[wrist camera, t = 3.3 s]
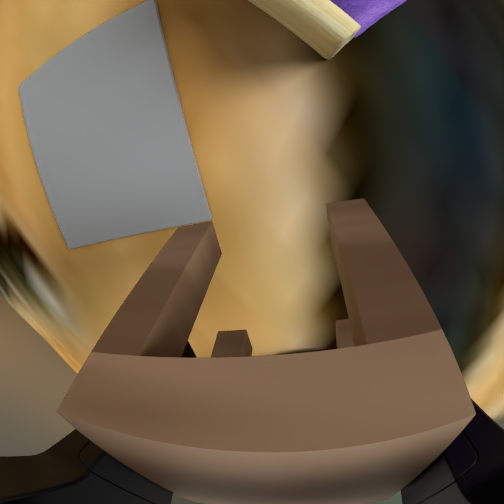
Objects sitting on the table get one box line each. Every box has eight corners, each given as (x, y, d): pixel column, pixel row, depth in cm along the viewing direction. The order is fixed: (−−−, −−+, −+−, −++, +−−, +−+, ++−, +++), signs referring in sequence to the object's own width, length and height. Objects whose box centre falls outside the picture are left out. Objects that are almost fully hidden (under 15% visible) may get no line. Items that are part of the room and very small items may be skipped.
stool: (364, 337, 11) (388, 499, 5) (225, 350, 12) (189, 500, 6) (364, 198, 8) (476, 413, 2) (178, 227, 9) (56, 411, 3)
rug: (212, 217, 19) (210, 220, 19) (71, 247, 22) (68, 249, 21) (156, -1, 11) (153, -3, 11) (21, 85, 14) (18, 86, 14)
